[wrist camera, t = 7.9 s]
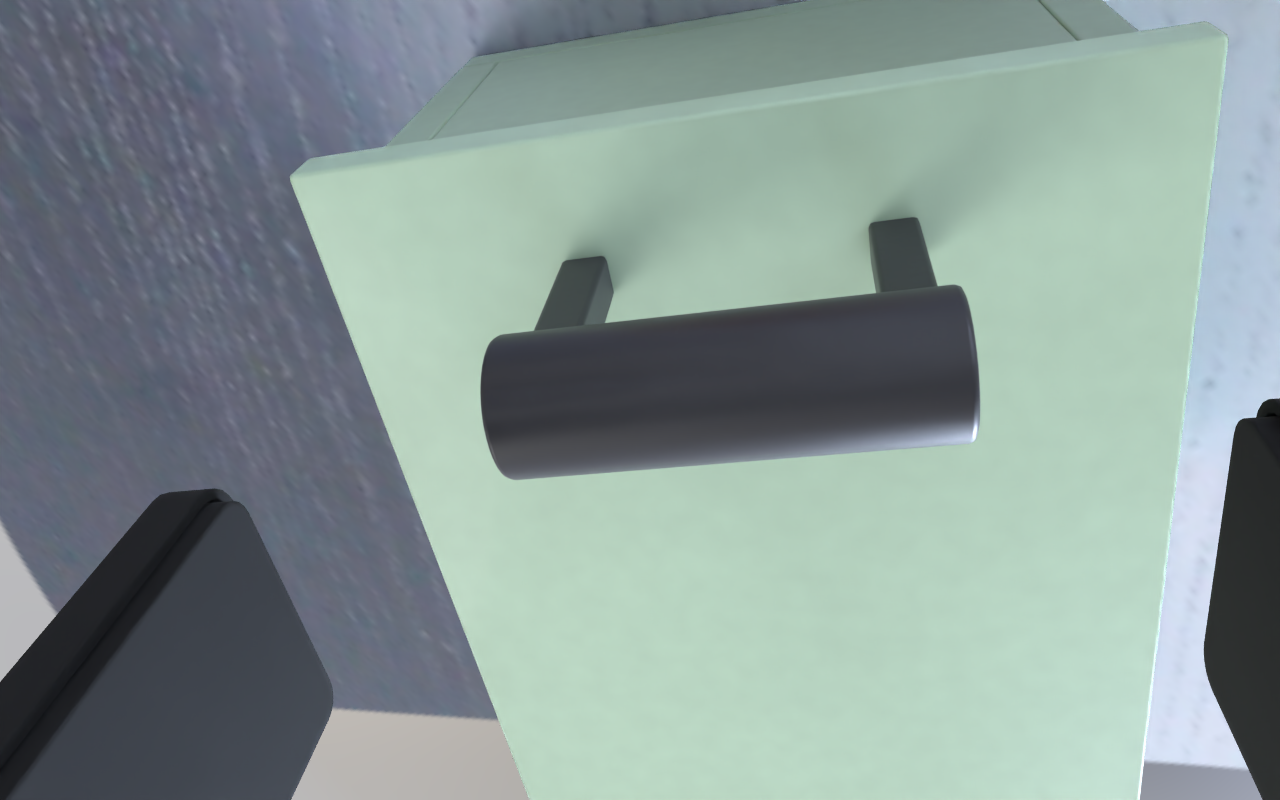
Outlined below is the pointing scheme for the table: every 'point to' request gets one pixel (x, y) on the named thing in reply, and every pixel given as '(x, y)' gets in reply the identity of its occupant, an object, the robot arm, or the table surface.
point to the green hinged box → (742, 57)
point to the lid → (803, 417)
